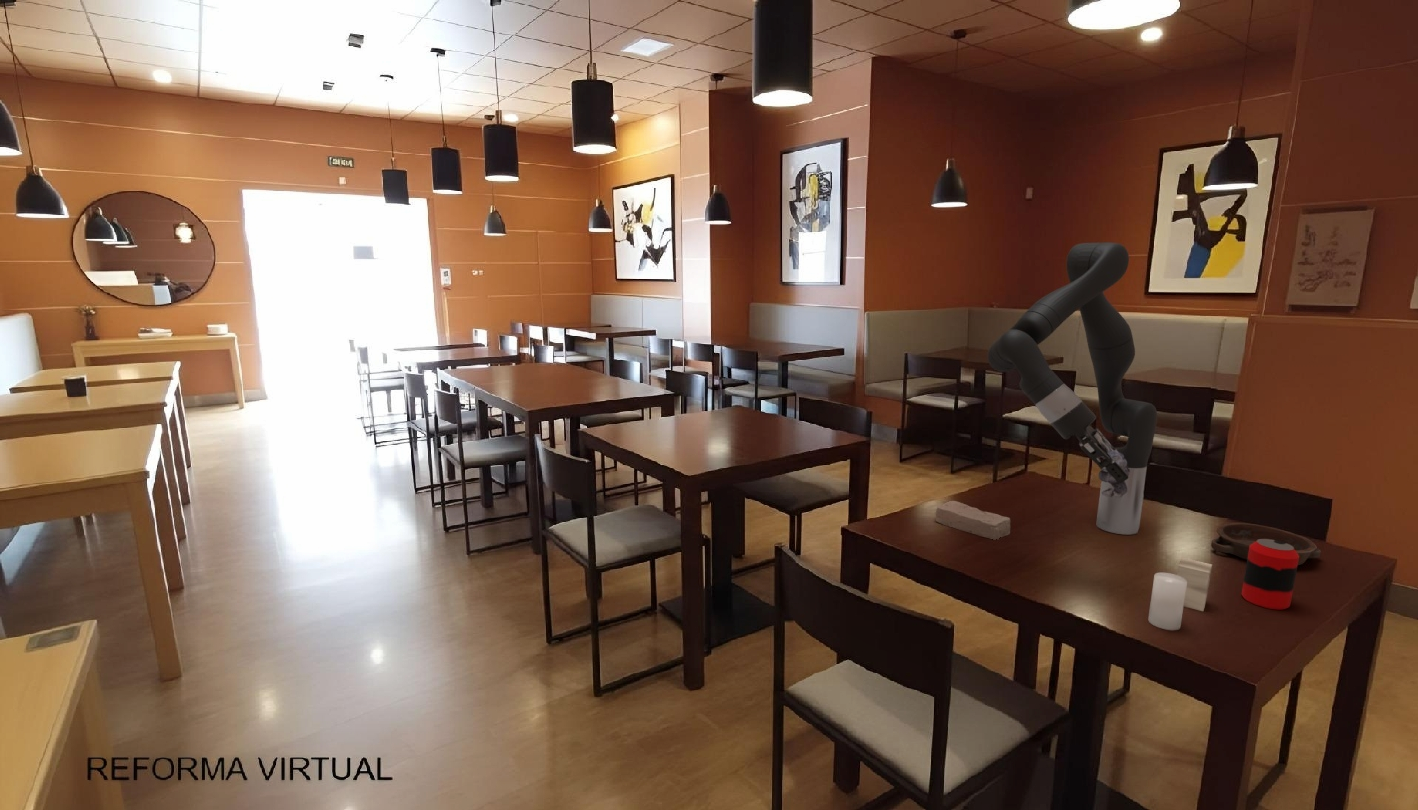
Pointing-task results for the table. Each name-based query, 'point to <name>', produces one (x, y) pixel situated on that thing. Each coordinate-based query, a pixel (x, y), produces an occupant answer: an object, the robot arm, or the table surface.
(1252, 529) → the dish
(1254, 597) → the soda can
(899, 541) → the table surface
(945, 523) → the brick
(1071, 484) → the table surface
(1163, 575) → the ceramic cylinder
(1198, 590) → the birch block
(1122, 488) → the fossil stone
